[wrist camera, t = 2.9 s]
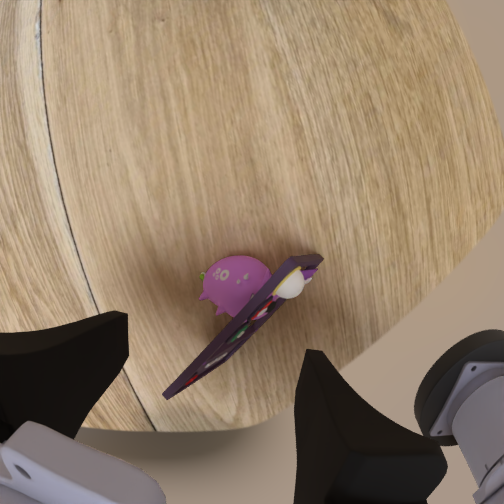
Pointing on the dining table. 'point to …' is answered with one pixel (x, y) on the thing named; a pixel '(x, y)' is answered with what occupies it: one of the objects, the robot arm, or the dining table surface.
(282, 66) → the dining table surface
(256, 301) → the game card
